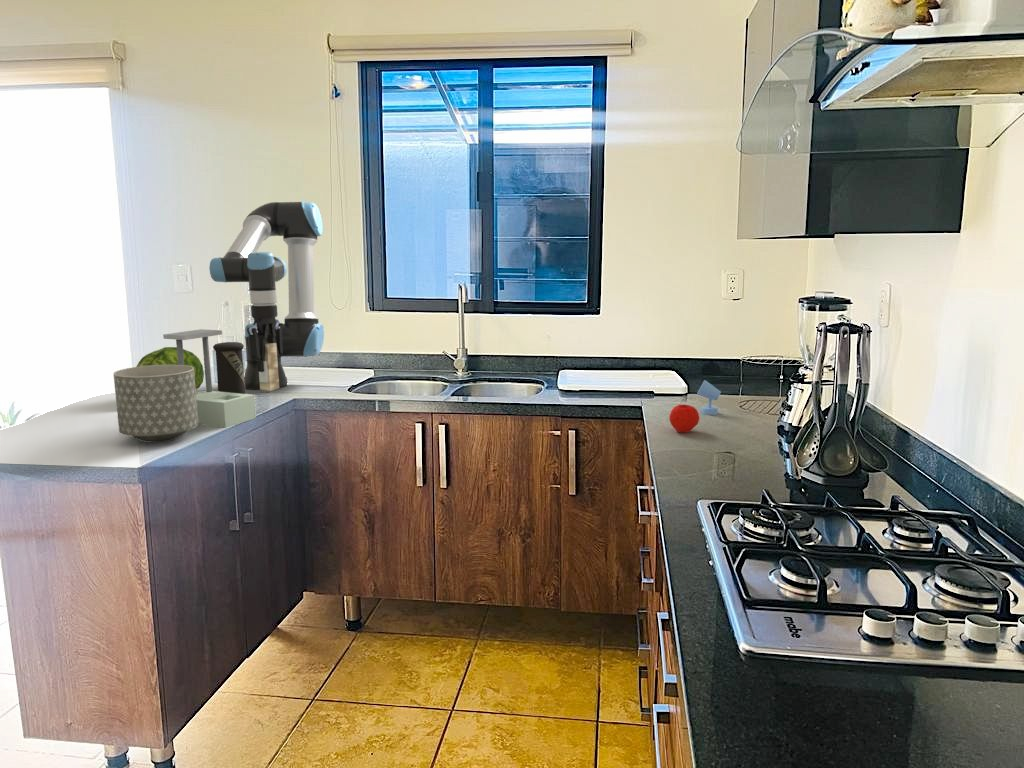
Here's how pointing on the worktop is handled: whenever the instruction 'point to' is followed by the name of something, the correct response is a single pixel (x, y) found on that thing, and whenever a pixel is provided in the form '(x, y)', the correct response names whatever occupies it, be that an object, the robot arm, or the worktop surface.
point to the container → (230, 367)
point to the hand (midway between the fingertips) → (269, 380)
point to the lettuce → (174, 361)
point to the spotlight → (710, 393)
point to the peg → (271, 368)
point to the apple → (684, 418)
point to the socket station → (215, 404)
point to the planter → (156, 401)
